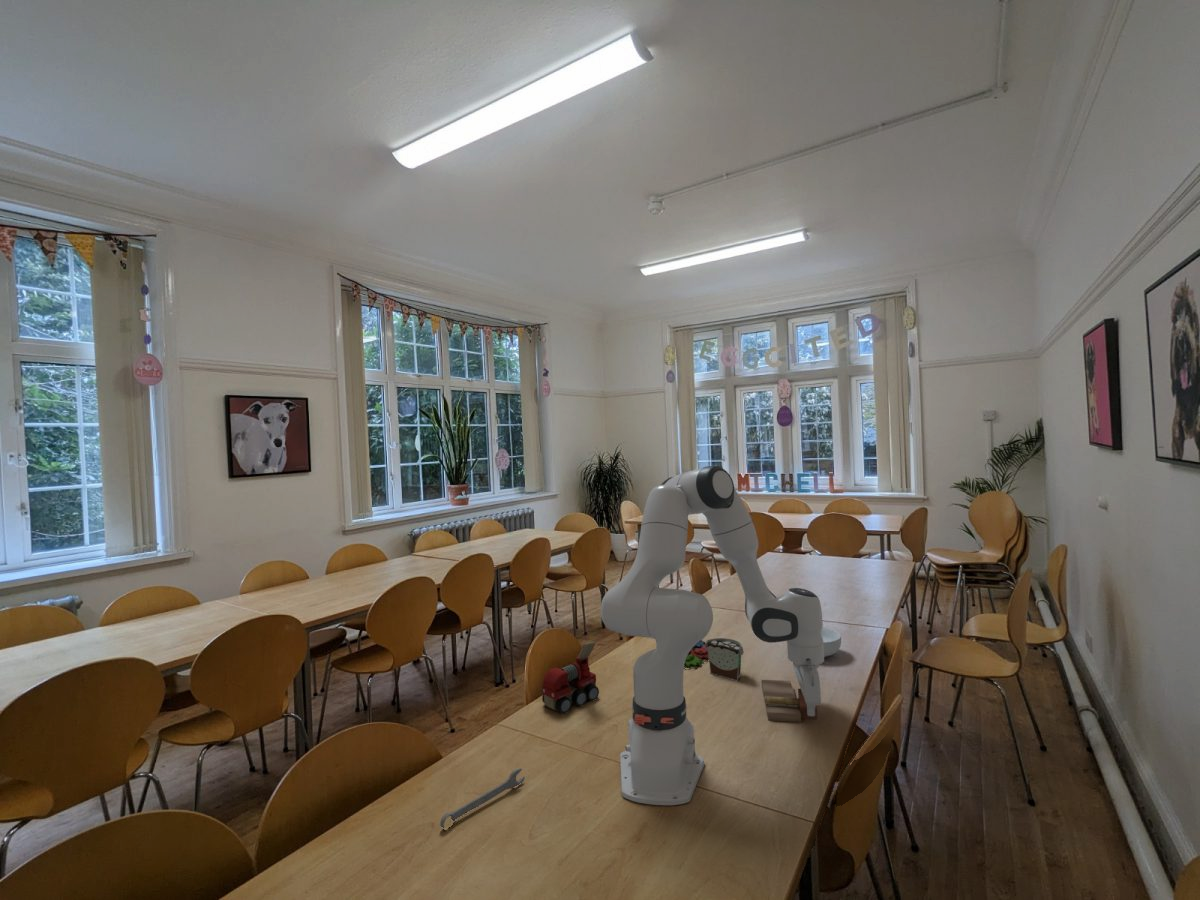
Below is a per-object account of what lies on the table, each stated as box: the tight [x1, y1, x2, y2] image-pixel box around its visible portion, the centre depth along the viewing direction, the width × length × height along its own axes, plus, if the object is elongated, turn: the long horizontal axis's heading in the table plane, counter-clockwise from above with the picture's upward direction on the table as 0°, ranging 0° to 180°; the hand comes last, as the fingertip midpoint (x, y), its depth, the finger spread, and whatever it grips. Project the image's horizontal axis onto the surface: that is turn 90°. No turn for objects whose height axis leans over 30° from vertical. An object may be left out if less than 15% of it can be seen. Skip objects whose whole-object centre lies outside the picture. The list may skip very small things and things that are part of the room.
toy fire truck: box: [541, 641, 600, 714], centre depth 155 cm, size 11×16×18 cm
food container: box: [705, 637, 745, 682], centre depth 170 cm, size 12×6×10 cm, turn 47°
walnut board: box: [760, 679, 802, 723], centre depth 150 cm, size 20×8×2 cm, turn 168°
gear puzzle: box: [684, 639, 709, 670], centre depth 184 cm, size 31×16×4 cm, turn 139°
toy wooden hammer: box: [763, 688, 818, 720], centre depth 143 cm, size 4×13×6 cm, turn 76°
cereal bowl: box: [821, 626, 842, 658], centre depth 183 cm, size 17×17×7 cm
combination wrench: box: [439, 767, 526, 828], centre depth 111 cm, size 4×1×20 cm
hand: (807, 706), depth 142 cm, fingers open, 8 cm apart
